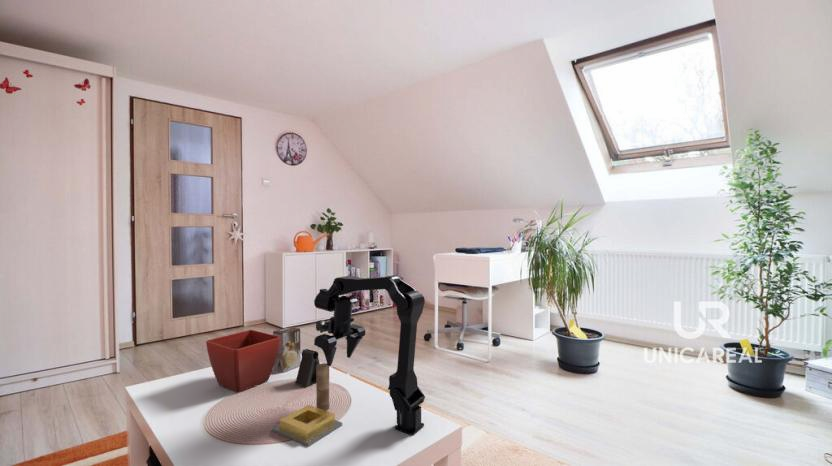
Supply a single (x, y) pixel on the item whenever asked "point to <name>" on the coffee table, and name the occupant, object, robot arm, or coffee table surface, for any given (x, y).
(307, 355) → the phone stand
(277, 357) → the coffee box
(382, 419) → the coffee table surface
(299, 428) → the socket
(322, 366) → the pin
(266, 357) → the plant pot
